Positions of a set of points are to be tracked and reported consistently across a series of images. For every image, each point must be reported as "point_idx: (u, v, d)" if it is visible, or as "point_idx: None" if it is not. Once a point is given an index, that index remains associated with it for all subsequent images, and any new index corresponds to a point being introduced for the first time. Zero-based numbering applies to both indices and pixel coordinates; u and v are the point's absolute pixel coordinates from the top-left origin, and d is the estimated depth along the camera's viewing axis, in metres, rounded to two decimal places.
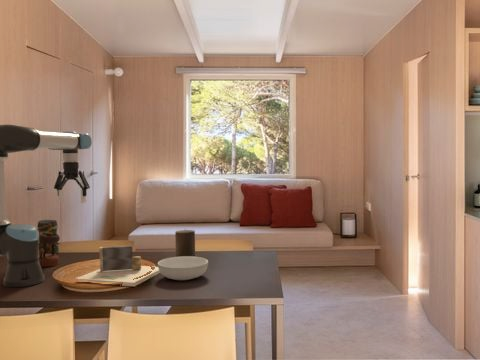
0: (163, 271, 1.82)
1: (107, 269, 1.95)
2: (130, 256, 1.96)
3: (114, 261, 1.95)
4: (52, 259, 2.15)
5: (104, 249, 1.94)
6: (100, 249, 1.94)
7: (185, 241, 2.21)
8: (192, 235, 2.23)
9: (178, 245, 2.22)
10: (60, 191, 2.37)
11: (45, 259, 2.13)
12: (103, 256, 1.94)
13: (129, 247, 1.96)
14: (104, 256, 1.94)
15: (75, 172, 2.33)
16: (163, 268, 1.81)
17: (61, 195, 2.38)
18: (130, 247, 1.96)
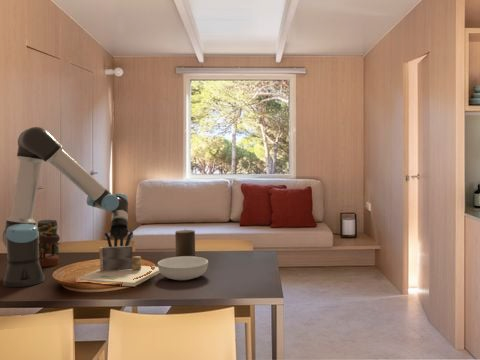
0: (163, 271, 1.82)
1: (107, 269, 1.95)
2: (130, 256, 1.96)
3: (114, 261, 1.95)
4: (52, 259, 2.15)
5: (104, 249, 1.94)
6: (100, 249, 1.94)
7: (185, 241, 2.21)
8: (192, 235, 2.23)
9: (178, 245, 2.22)
10: None
11: (45, 259, 2.13)
12: (103, 256, 1.94)
13: (129, 247, 1.96)
14: (104, 256, 1.94)
15: (126, 230, 2.10)
16: (163, 268, 1.81)
17: None
18: (130, 247, 1.96)
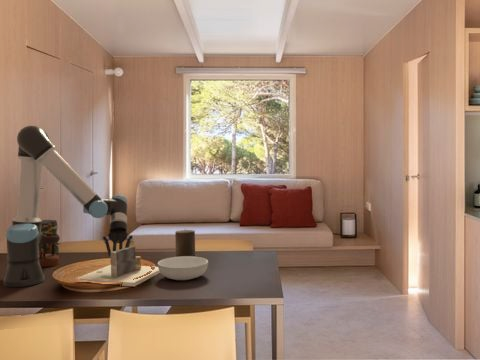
0: (163, 271, 1.82)
1: (119, 273, 1.87)
2: (134, 256, 1.95)
3: (124, 264, 1.89)
4: (52, 259, 2.15)
5: (117, 253, 1.85)
6: (114, 254, 1.84)
7: (185, 241, 2.21)
8: (192, 235, 2.23)
9: (178, 245, 2.22)
10: None
11: (45, 259, 2.13)
12: (117, 260, 1.85)
13: (133, 248, 1.95)
14: (117, 260, 1.85)
15: (125, 233, 2.01)
16: (163, 268, 1.81)
17: None
18: (134, 247, 1.95)
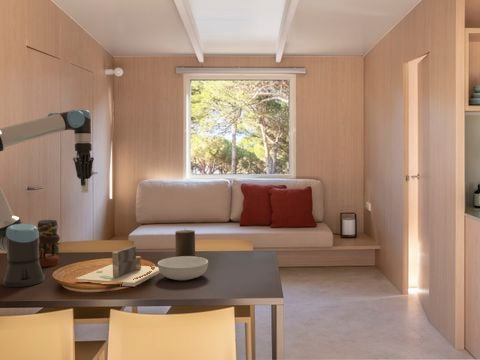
0: (163, 271, 1.82)
1: (121, 274, 1.86)
2: (134, 256, 1.95)
3: (125, 264, 1.89)
4: (52, 259, 2.15)
5: (119, 253, 1.85)
6: (116, 254, 1.83)
7: (185, 241, 2.21)
8: (192, 235, 2.23)
9: (178, 245, 2.22)
10: None
11: (45, 259, 2.13)
12: (118, 261, 1.85)
13: (134, 248, 1.95)
14: (119, 260, 1.85)
15: (89, 155, 2.19)
16: (163, 268, 1.81)
17: None
18: (134, 247, 1.95)
